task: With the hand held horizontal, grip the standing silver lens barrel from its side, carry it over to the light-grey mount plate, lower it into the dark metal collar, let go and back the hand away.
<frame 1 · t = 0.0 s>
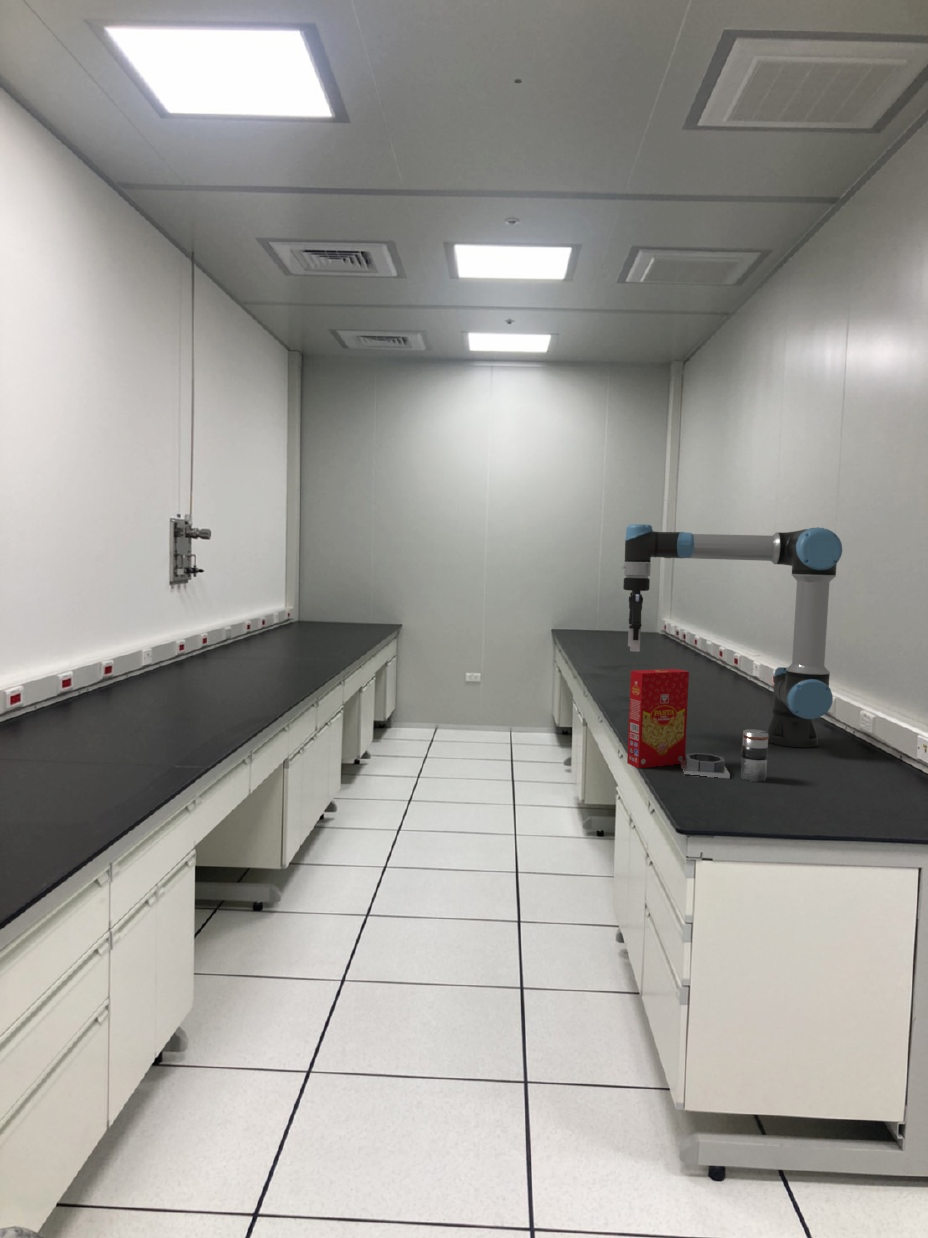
hand: (633, 648, 241), 28 cm above the table, tool pointing down, fingers open, 13 cm apart
food packaging: (656, 764, 218), on the table
mount: (704, 771, 211), on the table
lens: (753, 778, 206), on the table
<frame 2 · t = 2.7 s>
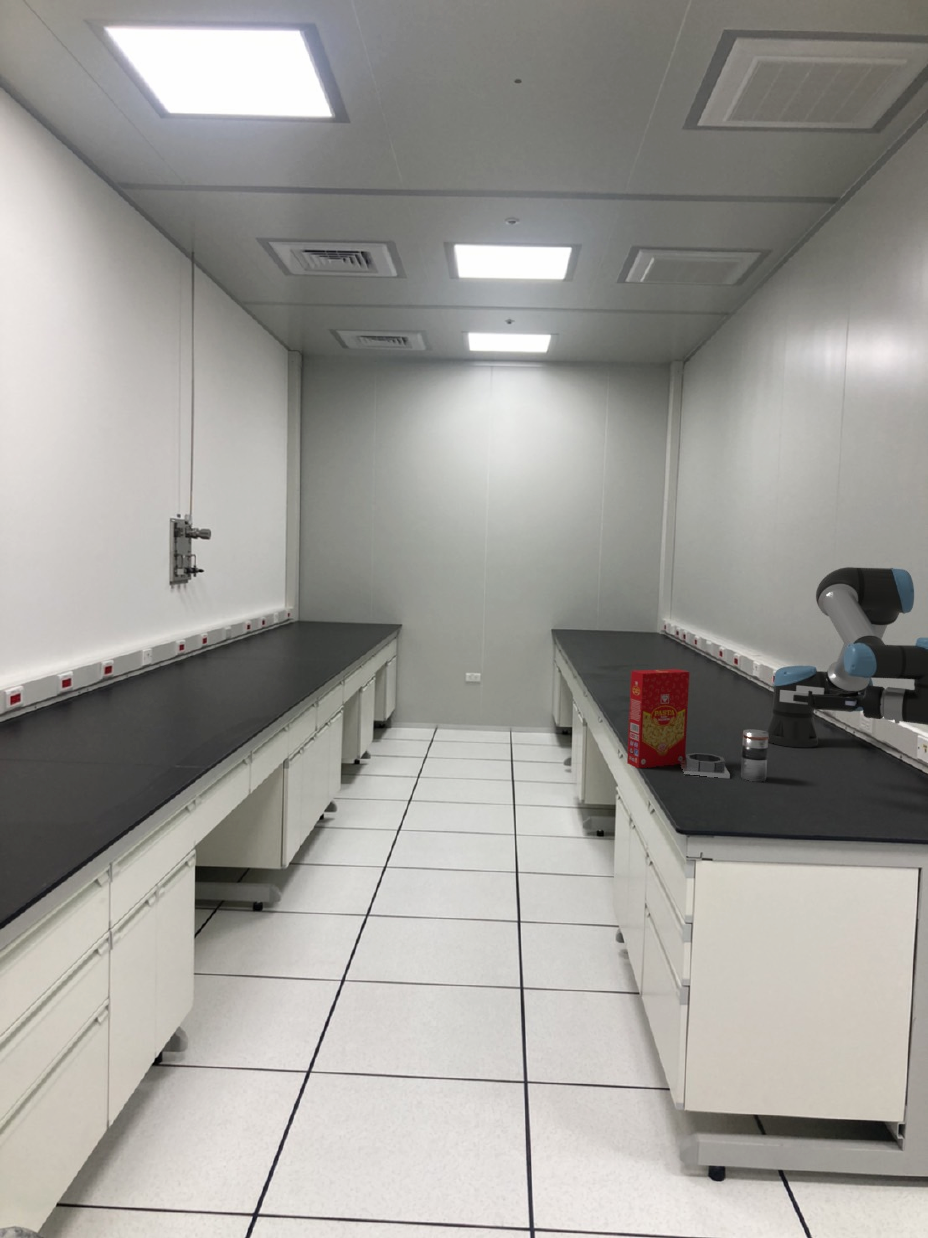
hand: (788, 693, 200), 23 cm above the table, tool horizontal, fingers open, 13 cm apart
nothing on the table moved.
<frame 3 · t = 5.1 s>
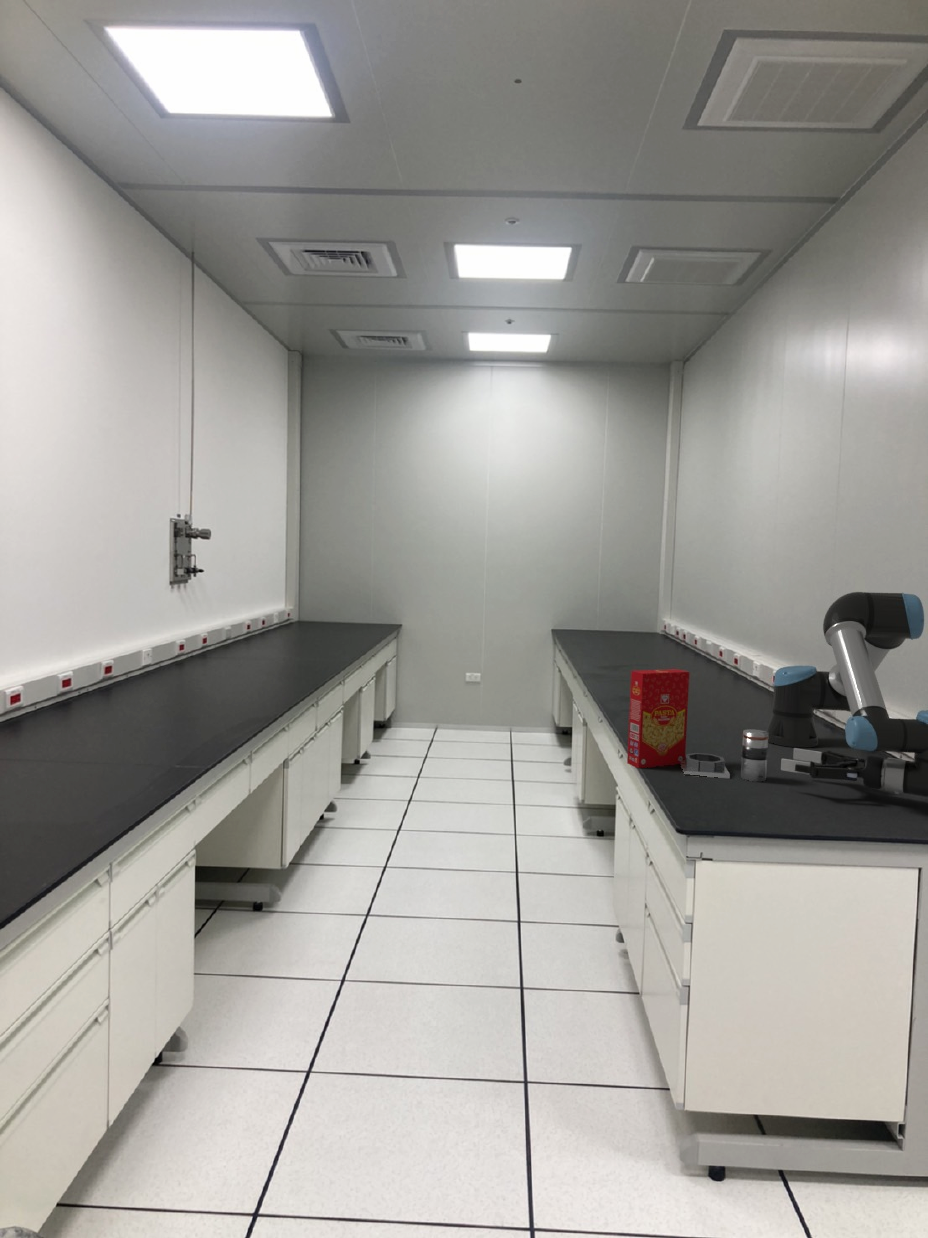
hand: (787, 758, 200), 6 cm above the table, tool horizontal, fingers open, 13 cm apart
nothing on the table moved.
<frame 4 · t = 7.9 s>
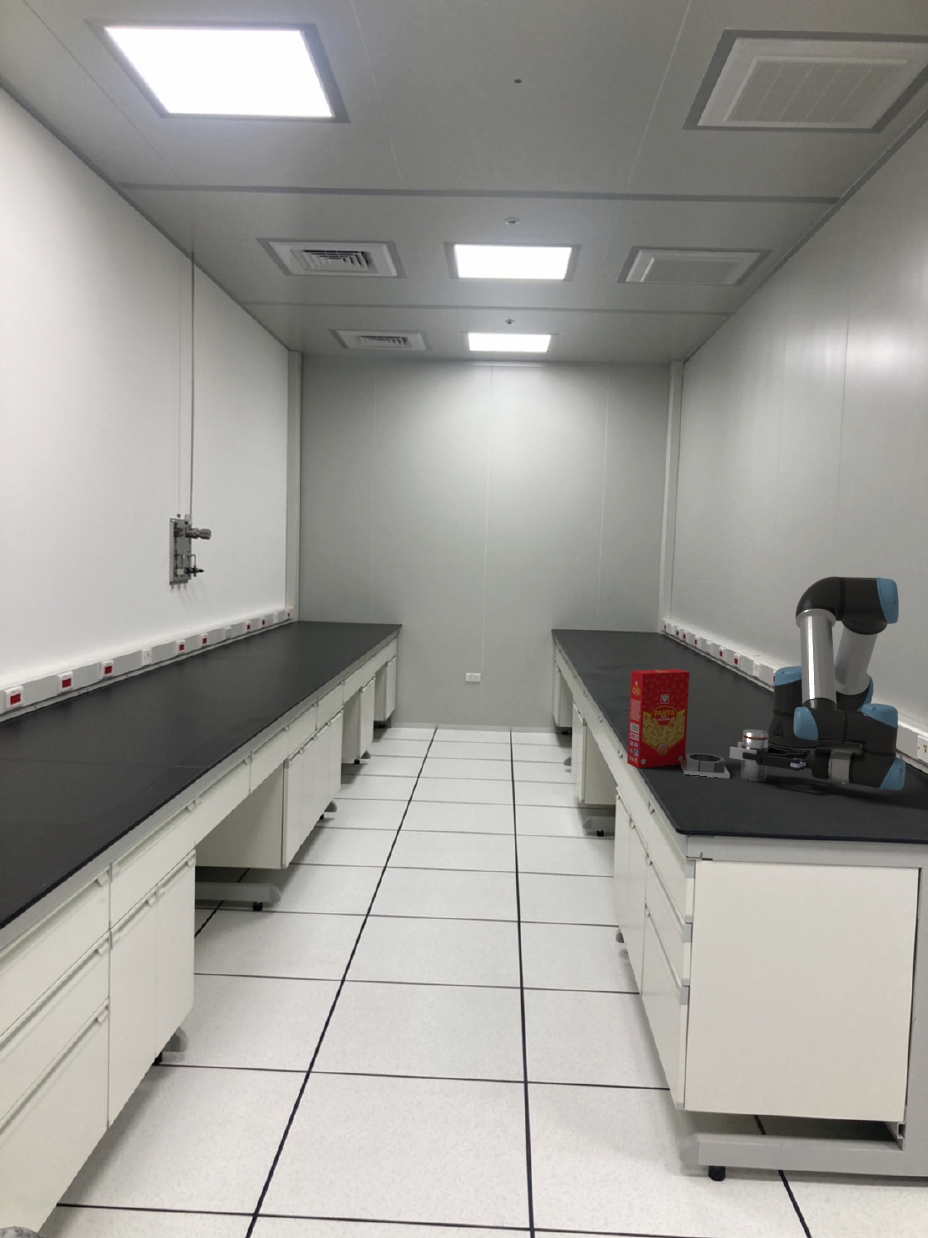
hand: (734, 749, 208), 7 cm above the table, tool horizontal, fingers closed on lens, 6 cm apart
lens: (753, 778, 206), on the table, touching gripper
everything else where it was.
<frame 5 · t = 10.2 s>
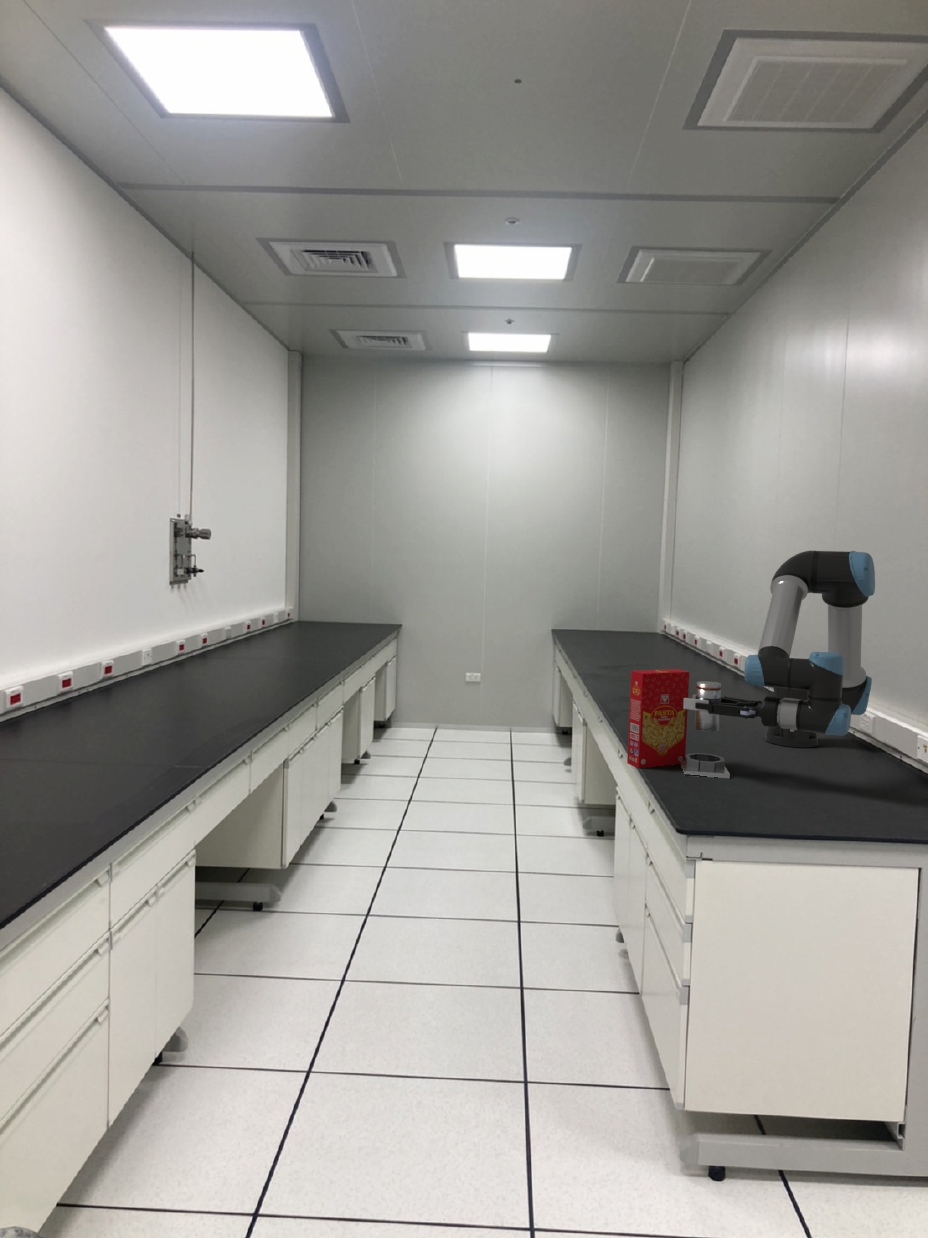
hand: (688, 701, 213), 18 cm above the table, tool horizontal, fingers closed on lens, 6 cm apart
lens: (706, 729, 210), point 11 cm above the table, touching gripper
everything else where it was.
when the fingers open (9 cm above the table, at t = 12.5 s): lens drops 1 cm, resting on mount.
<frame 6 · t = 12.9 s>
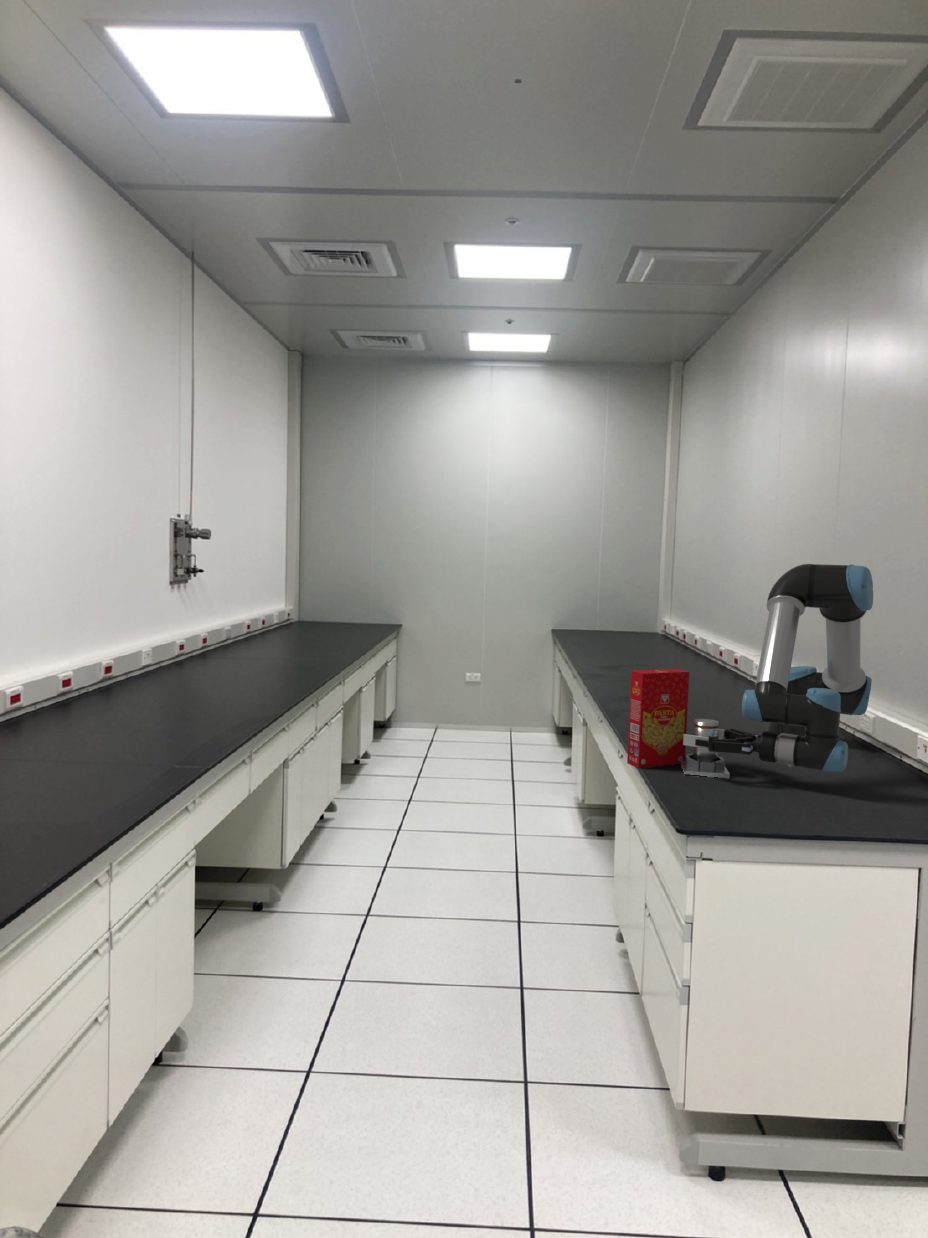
hand: (691, 735, 213), 9 cm above the table, tool horizontal, fingers open, 12 cm apart
lens: (704, 766, 211), point 1 cm above the table, touching mount
everything else where it was.
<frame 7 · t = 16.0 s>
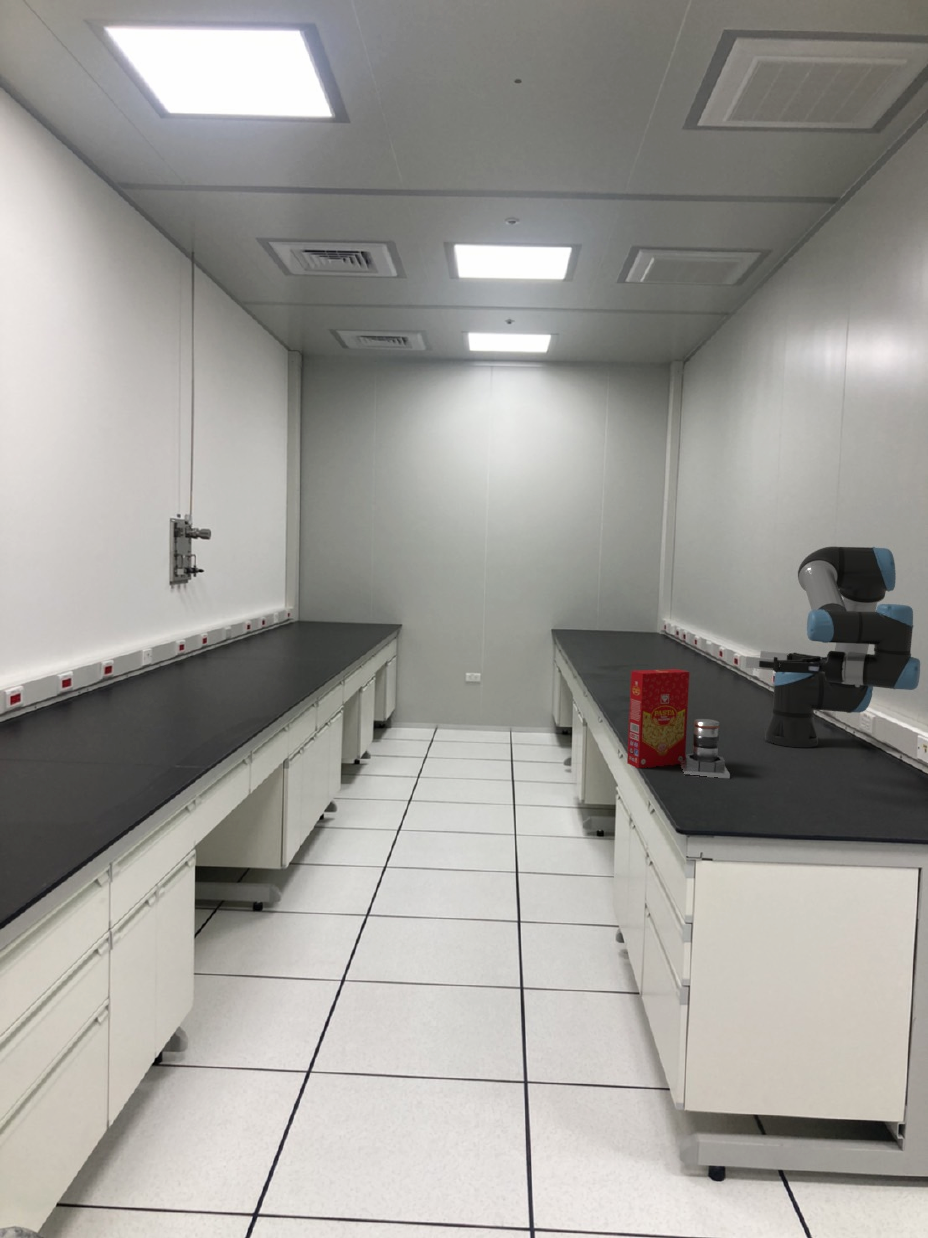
hand: (753, 658, 205), 30 cm above the table, tool horizontal, fingers open, 13 cm apart
nothing on the table moved.
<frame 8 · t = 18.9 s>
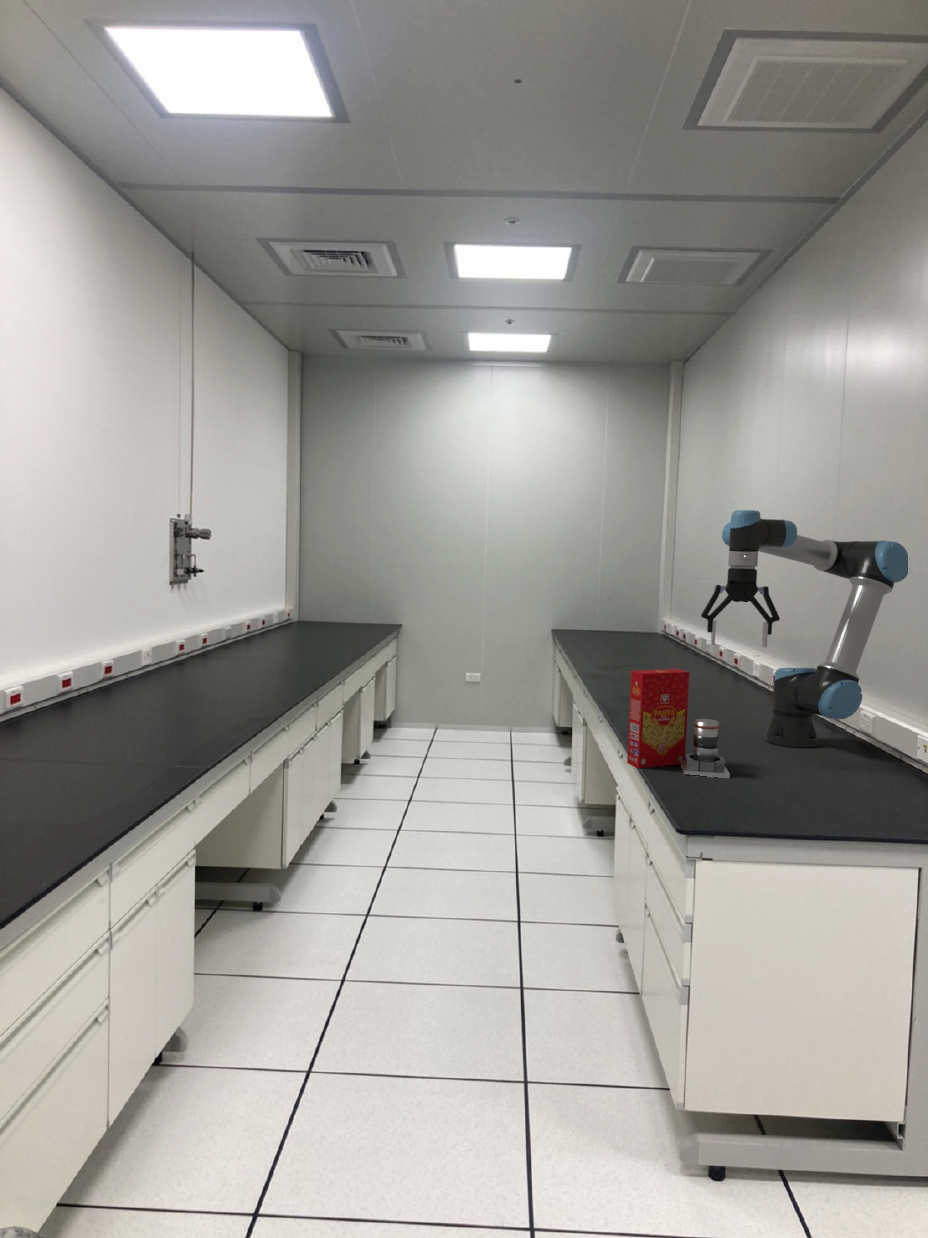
hand: (738, 645, 222), 32 cm above the table, tool pointing down, fingers open, 13 cm apart
nothing on the table moved.
at the end: lens 0.0 cm off-centre on the mount, point 1.2 cm above the mount's base; lens tilted 0°; the gripper is holding nothing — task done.
